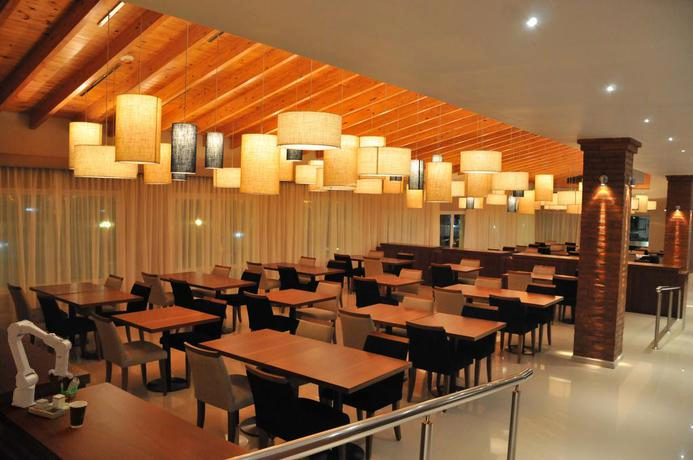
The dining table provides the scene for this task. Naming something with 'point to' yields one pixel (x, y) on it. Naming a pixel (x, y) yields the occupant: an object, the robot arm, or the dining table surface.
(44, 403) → the beige block
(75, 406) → the dixie cup
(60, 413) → the grey cubby shelf
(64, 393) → the food container
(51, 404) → the tray
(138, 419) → the dining table surface
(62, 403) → the plug
